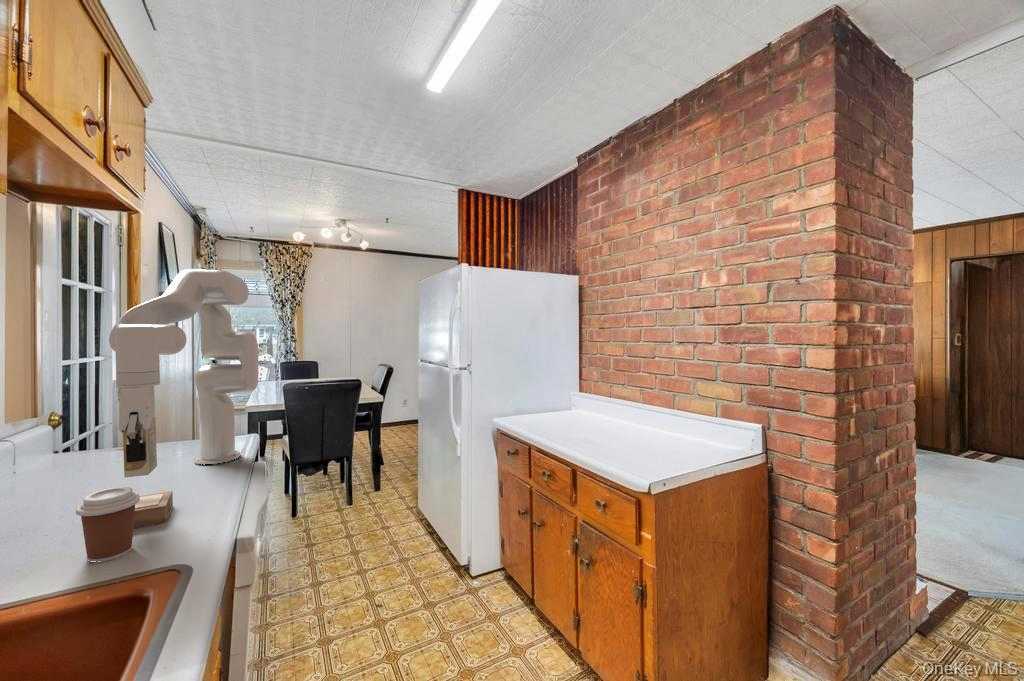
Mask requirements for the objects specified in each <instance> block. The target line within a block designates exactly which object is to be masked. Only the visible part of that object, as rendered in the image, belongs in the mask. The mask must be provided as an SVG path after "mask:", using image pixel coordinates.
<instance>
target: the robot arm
mask: <svg viewBox="0 0 1024 681" xmlns="http://www.w3.org/2000/svg"><path fill="white" fill-rule="evenodd" d="M248 287H249V286H248V285H247V283H246V281H245V280H244V279H242V278H241V277H239V276H237V275H236V274H233V273H231V272H229V271H226V270H221V269H204V268H203V269H202V268H199V269H198V268H192V269H191V268H188V269H184V270H181V271H180V272H179V273H177V274H176V276H175V277H174V279H173V280H172V281H171V282H170V284H169V285H168V287H167V288H166V289H165V291H164V292H163V293H162V295H161V296H158V297H156V298H153V299H150V300H148V301H145V302H143V303H140V304H137V305H136V306H134V307H132V308H130V309H129V310H127V311H126V312H124V313H123V314H122V315H121V317H120V318H118V320H117V321H116V323H114V326H113V327H112V328H111V331H110V333H109V337H108V342H109V347H110V349H111V350H112V351H114V353H115V383H116V384H115V387H116V388H120V391H119V400H118V426H117V428H118V432H120V433H123V432H124V431H123V430H126V429H127V428H126V427H127V425H128V429H127V441H126V461H127V462H137V461H144V460H145V459H146V442H144V430H146V429H148V428H149V426H150V424H151V421H152V419H153V417H155V418H156V404H155V403H156V401H155V400H156V399H155V398H156V396H155V386H159V385H161V372H160V371H161V368H160V363H161V362H160V359H161V358H160V356H169V355H170V356H171V355H175V354H178V353H180V352H181V351H183V350H184V348H185V347H186V344H187V339H188V338H187V335H186V333H185V331H184V330H183V329H182V328H181V327H179V326H177V325H174V323H178V322H182V321H185V320H189V319H191V318H192V317H194V316H195V314H198V318H199V325H200V326H199V328H200V329H199V330H200V331H199V333H200V334H199V335H200V340H199V341H200V353H201V356H202V358H204V359H205V360H209V361H210V360H211V361H239V363H238V364H237V363H235V364H234V363H233V364H230V363H226V364H225V363H223V364H222V363H220V364H219V363H218V364H207V365H203V366H201V367H199V368H198V369H197V371H196V372H195V375H194V381H195V386H196V390H197V397H198V405H199V406H198V408H199V411H198V412H199V443H200V444H199V451H200V452H199V454H200V455H198V456H196V457H195V458H194V464H196V465H199V464H201V466H206V465H205V464H213V465H218V464H217V463H220V464H224V463H223V462H225V463H229V462H232V461H231V460H233V461H235V460H237V459H239V458H240V457H241V456H240V455H241V451H240V450H239V451H238V450H236V437H235V436H236V433H235V432H236V429H235V425H236V424H235V419H236V418H235V404H234V402H233V400H232V399H231V397H229V395H228V394H231V393H232V394H233V393H234V394H236V393H237V394H238V393H250V392H253V391H255V390H256V388H258V385H259V345H258V340H257V337H256V336H255V334H253V333H252V332H251V331H234V330H233V328H232V327H233V326H232V316H231V313H230V312H229V311H228V310H227V308H226V307H225V306H240V305H243V304H245V303H246V302H247V300H248V299H249V288H248ZM138 418H139V420H138ZM137 424H143V425H142V428H141V429H136V428H137ZM138 432H140V434H139V433H138ZM139 435H140V436H139ZM239 456H240V457H239ZM238 457H239V458H238ZM236 458H237V459H236ZM234 459H235V460H234ZM228 461H229V462H228ZM202 464H203V465H202Z"/></svg>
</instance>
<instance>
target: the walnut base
mask: <svg viewBox="0 0 1024 681" xmlns="http://www.w3.org/2000/svg"><path fill="white" fill-rule="evenodd" d="M139 497H140V501H139V502H138V503H136V504H135V515H134V527H133V529H138V528H137V527H139V528H143V527H142V526H144V527H148V526H147V525H150V526H153V525H152V524H155V525H160V524H165V523H164V522H166V523H167V521H168V518H169V516H170V513H171V512H170V511H172V509H173V507H174V503H173V502H174V498H173V497H174V496H173V491H172V490H169V491H164V492H157V493H151V494H145V495H139ZM166 520H167V521H166ZM159 523H160V524H159Z"/></svg>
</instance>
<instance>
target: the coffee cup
mask: <svg viewBox="0 0 1024 681" xmlns="http://www.w3.org/2000/svg"><path fill="white" fill-rule="evenodd" d="M139 496H140V494H138V493H135V492H133V488H131V487H130V486H129V487H128V486H118V487H110V488H106V489H101V490H98V491H94V492H92V493H89V494H87V495H86V496H84V497H83V499H82V500H83V501H82V502H81V503H80V504H79V505H78V506H76V508H75V514H76V515H77V516H80V518H81V525H82V531H83V539H84V545H85V553H86V559H87V560H89V561H96V562H98V561H105V562H109V561H112V559H113V560H116V559H119V558H120V557H123V556H125V555H127V554H128V553H130V552H131V551H132V550H133V538H134V536H133V535H134V528H133V527H134V515H135V504H136V503H138V502H139V501H140V497H139ZM131 549H132V550H131ZM130 550H131V551H130ZM118 557H119V558H118ZM87 560H86V561H87ZM108 560H109V561H108Z"/></svg>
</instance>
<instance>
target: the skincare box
mask: <svg viewBox="0 0 1024 681" xmlns="http://www.w3.org/2000/svg"><path fill="white" fill-rule="evenodd" d="M138 420H139V418H138ZM142 425H143V424H137V428H136V429H141V428H142ZM156 426H157V425H156V416H155V417H153V419H152V421H151V424H150V426H149V428H148V429H146V430H144V442H146V459H145V460H144V461H137V462H127V461H126V441H127V429H128V425H127V427H126V428H127V429H126V430H123V431H124V432H122V444H123V445H122V448H123V475H124V478H132V477H143V476H148V475H150V474H151V473H152V472H153V471H155V469H156V468H157V467H158V455H157V452H158V451H157V430H156V429H157V427H156ZM138 433H139V434H140V432H138ZM139 436H140V435H139Z"/></svg>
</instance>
